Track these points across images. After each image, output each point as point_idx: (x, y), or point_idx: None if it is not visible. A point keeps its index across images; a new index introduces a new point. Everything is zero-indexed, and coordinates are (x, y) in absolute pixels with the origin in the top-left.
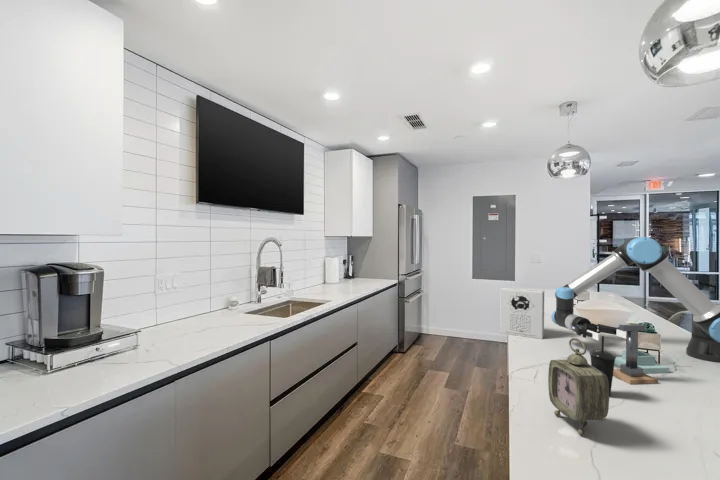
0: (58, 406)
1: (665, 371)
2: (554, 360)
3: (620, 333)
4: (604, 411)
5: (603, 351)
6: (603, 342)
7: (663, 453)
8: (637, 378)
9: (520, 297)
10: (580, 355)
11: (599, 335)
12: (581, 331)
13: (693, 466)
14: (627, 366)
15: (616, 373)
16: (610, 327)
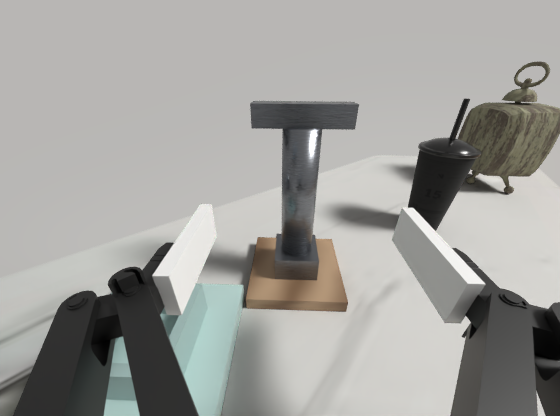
0: None
1: None
2: (557, 108)
3: (192, 262)
4: None
5: (450, 138)
6: (459, 115)
7: (401, 163)
8: None
9: None
10: (518, 89)
11: (403, 215)
12: (536, 309)
13: (386, 157)
14: (311, 246)
15: (339, 271)
16: (72, 399)
